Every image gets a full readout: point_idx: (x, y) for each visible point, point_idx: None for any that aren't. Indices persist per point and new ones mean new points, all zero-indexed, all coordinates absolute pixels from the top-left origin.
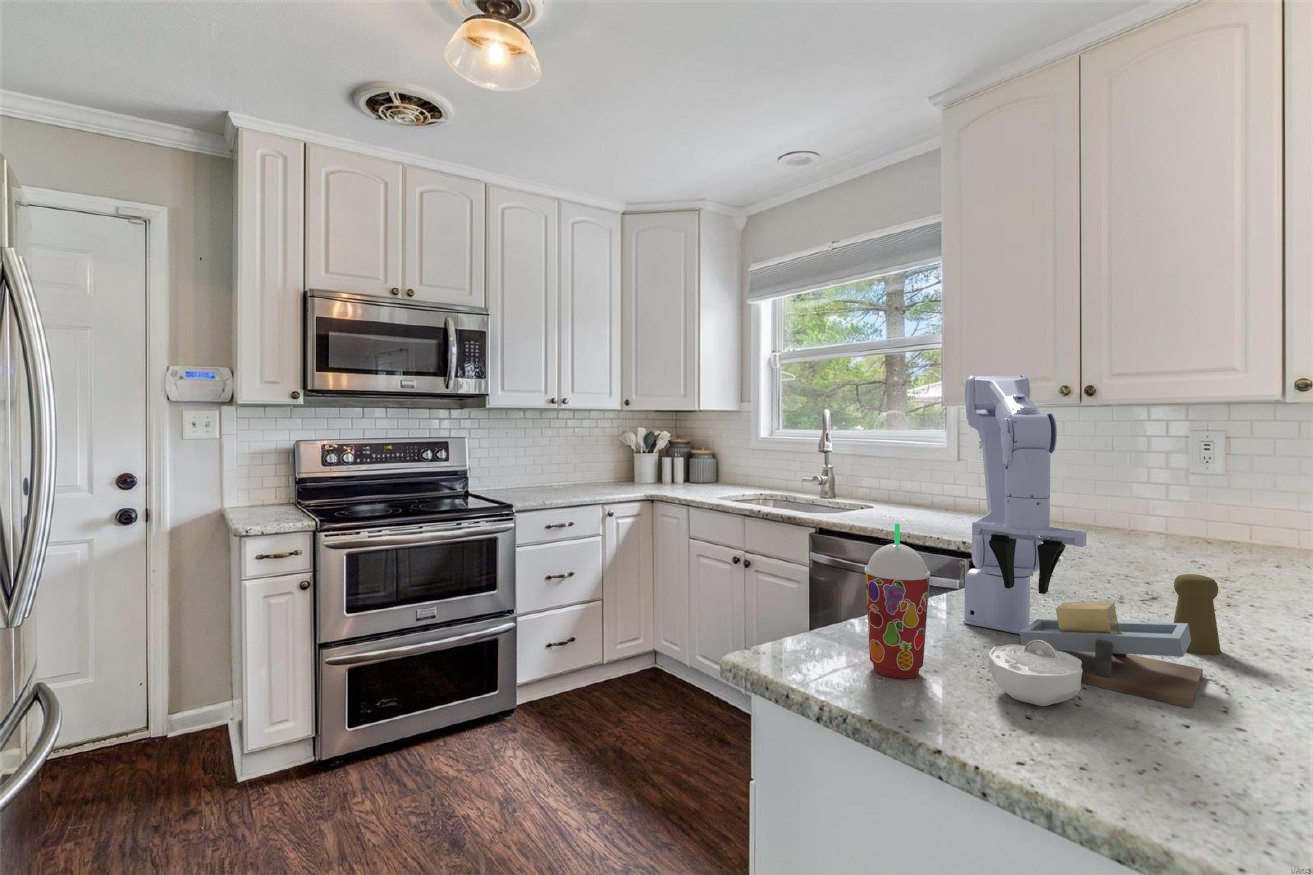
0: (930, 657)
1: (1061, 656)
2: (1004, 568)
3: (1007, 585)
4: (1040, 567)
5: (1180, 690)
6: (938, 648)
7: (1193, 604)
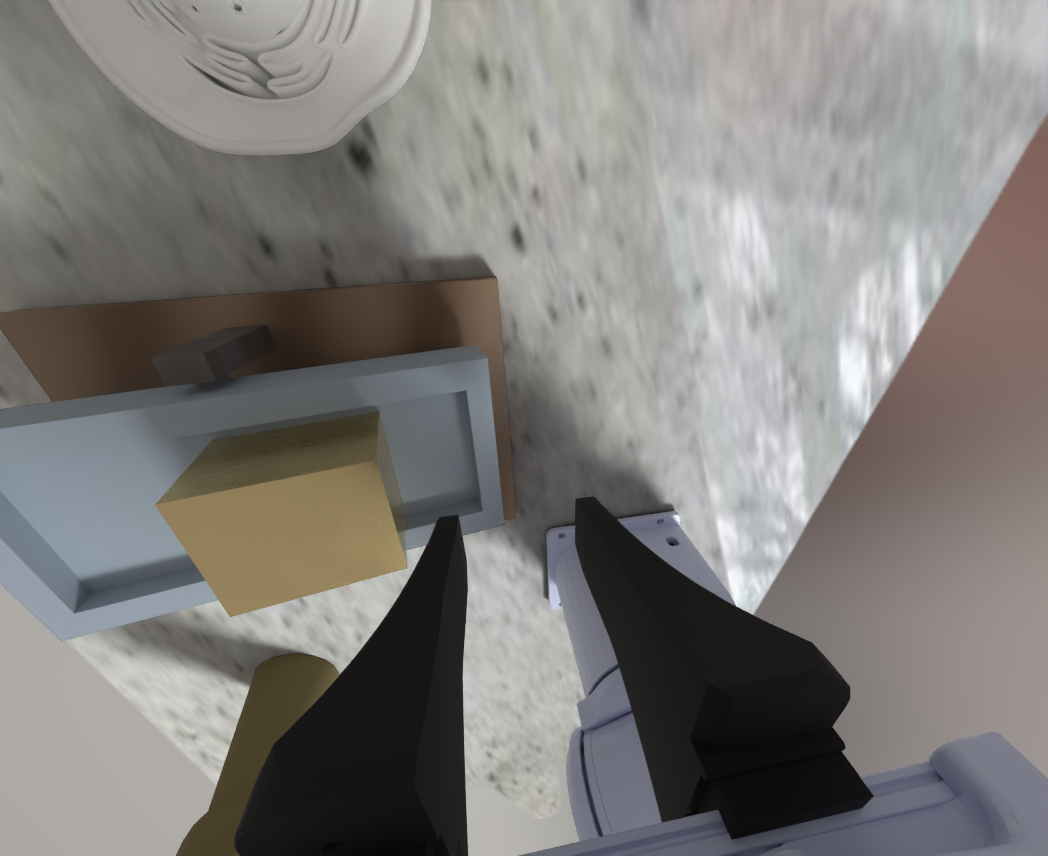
0: (686, 164)
1: (195, 84)
2: (628, 551)
3: (587, 503)
4: (433, 609)
5: (67, 374)
6: (684, 278)
7: (238, 782)
